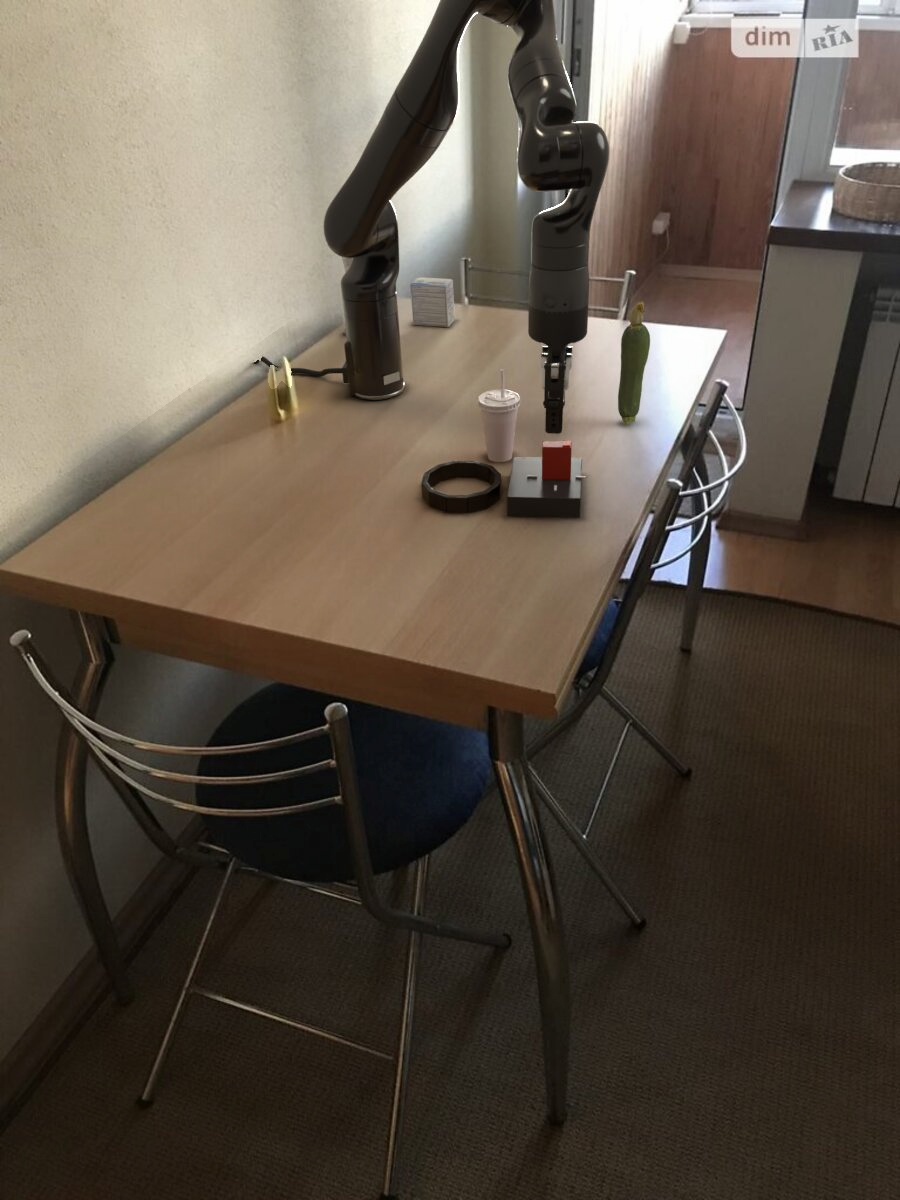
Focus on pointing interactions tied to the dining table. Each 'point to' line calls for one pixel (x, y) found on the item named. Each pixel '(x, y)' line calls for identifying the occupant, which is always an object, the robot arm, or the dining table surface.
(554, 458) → the knob
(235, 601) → the dining table surface
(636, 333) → the vegetable
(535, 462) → the panel
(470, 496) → the ring
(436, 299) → the grey striped block
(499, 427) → the smoothie
